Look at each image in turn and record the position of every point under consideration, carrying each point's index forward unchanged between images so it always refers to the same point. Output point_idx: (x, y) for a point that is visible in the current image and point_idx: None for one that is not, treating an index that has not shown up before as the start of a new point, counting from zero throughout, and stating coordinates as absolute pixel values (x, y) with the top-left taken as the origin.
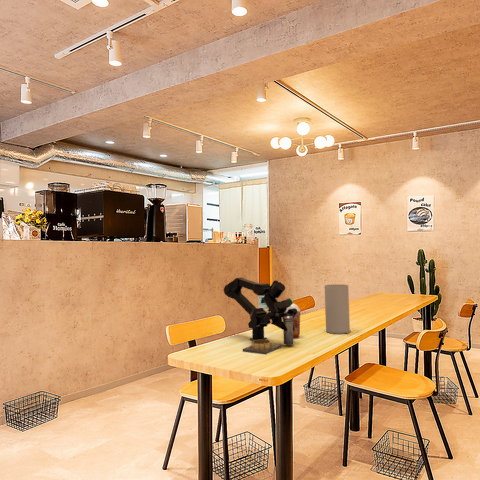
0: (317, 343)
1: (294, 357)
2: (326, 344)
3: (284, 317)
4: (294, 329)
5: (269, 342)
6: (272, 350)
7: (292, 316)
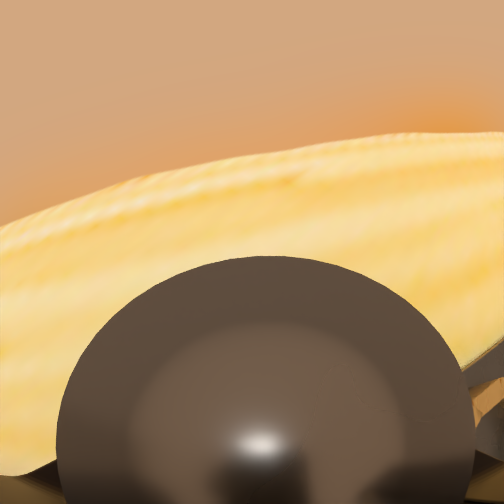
0: (63, 314)
1: (419, 195)
2: (63, 258)
3: (457, 432)
4: None
5: (490, 399)
6: (461, 370)
7: (170, 284)
